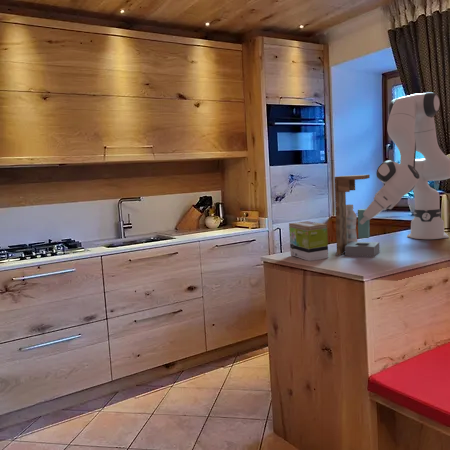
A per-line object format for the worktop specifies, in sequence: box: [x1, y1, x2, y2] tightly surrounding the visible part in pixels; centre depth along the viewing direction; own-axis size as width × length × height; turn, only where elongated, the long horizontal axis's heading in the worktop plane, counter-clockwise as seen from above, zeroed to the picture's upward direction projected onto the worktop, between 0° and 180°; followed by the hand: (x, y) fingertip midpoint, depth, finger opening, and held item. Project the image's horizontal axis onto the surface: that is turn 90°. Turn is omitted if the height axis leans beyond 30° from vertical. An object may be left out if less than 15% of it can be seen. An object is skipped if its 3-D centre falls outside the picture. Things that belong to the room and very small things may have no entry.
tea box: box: [288, 220, 329, 262], centre depth 195 cm, size 15×10×15 cm
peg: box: [357, 208, 371, 239], centre depth 195 cm, size 4×4×12 cm
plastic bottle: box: [346, 204, 359, 244], centre depth 210 cm, size 6×7×20 cm
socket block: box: [344, 241, 381, 257], centre depth 196 cm, size 12×12×4 cm
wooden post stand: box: [334, 174, 371, 256], centre depth 196 cm, size 12×12×34 cm
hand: (362, 222), depth 195 cm, fingers closed on peg, 4 cm apart
